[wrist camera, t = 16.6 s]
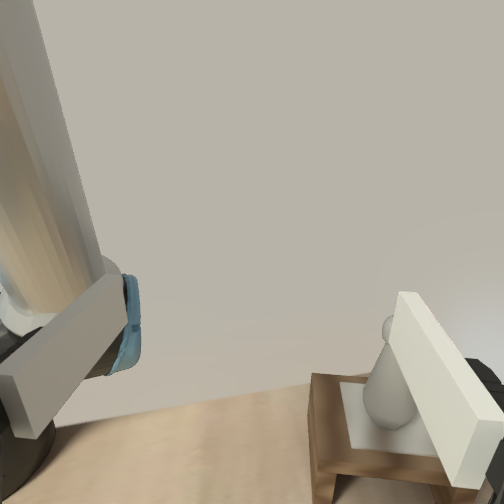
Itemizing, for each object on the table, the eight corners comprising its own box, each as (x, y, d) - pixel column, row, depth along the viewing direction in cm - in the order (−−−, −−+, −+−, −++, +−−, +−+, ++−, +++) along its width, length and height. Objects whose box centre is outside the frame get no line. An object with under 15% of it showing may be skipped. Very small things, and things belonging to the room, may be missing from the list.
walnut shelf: (312, 505, 36) (319, 456, 33) (307, 415, 47) (311, 371, 44) (462, 524, 35) (485, 474, 31) (421, 426, 46) (434, 381, 42)
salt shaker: (373, 387, 41) (391, 300, 36) (420, 414, 38) (447, 321, 33) (350, 414, 37) (367, 322, 32) (400, 448, 34) (427, 349, 29)
